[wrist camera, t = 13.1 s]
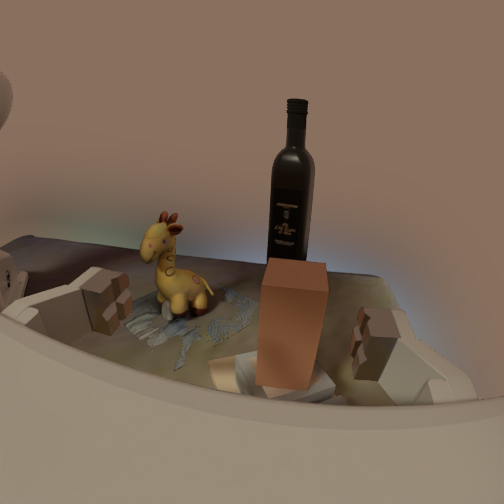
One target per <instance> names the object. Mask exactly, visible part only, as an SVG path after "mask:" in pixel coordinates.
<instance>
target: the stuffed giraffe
mask: <svg viewBox="0 0 504 504" xmlns="http://www.w3.org/2000/svg"><path fill="white" fill-rule="evenodd" d="M177 217H178V214H177V213H175V214H172V215H171V216H170V217H169V219H168V213H167V212H165V211H164V212H162V213H161V215H160V218H159V219H158V221H157V224H154V225H152V226H150V227H149V229H148V230H147V231H146V233H145V235H144V238H143V240H142V244H141V246H140V256H141V258H142V260H143V261H144V262H145V263H146V264H149V263H151V262H153V261H155V260H156V259H157V258H158V256H159V259H158V264H157V268H156V273H155V283H156V286H157V288H158V290H157V291H154V292H152V293H149V294H147V295H146V296H144V297H140V298H138V299H137V300H134V301H132V309H131V310H133V311H132V313H136V312H137V315H138V316H135V317H134V318H132V319H130V320H128V321H129V322H127V324H124V325H126V327H127V328H128V329H129V330H130V332H132V333H134V335H135V334H136V333H138V332H139V331H142V330H145V331H144V332H140V333H142V334H138V336H136V337H137V338H138V339H139V340H144V339H142V338H145V337H147V336H148V335H149V337H150V339H149V340H147V342H151V343H147V344H148V345H149V344H150V345H151V346H150V347H152V345H153V347H155V345H156V346H157V345H159V344H162V343H163V342H164V341H167V340H166V339H168V338H169V336H170V335H171V337H173V335H178V336H180V335H181V336H182V334H185V333H186V332H187V330H188V329H189V327H187V326H186V327H184V325H183V324H185V321H188V320H189V318H190V316H203V315H204V314H205V311H206V310H207V297H206V293H205V289H208V290H209V292H210V294H211V296H214V293H213V291H212V290H211V288H210V287H209V285H208V284H207V282H206V281H205V280H204V279H203V278H202V277H200V276H197V275H196V274H195V273H194V272H192V271H189V270H184V269H176V268H175V266H174V265H175V253H176V249H175V243H176V241H175V240H176V238H175V235H177V234H179V233H180V232H181V231H182V230H183V227H182V225H180V224H176V223H175V222H176V220H177ZM167 219H168V220H167ZM217 284H219V283H217ZM221 286H222V287H221V288H220V289H224V291H225V292H226V294H225V296H226V298H227V299H225V300H232V299H231V298H235V296H234V295H236V296H237V297H239V296H238V295H240V294H239V293H237V292H235V291H234V290H232V289H230V288H227V287H225V286H223V285H221ZM225 292H224V293H225ZM242 296H243V295H241V296H240V297H239V299H237V302H239V301H240V302H241V303H243V304H238V303H237V302H236V303H235V306H240V307H242V308H240V309H241V310H239V312H238V313H236V315H239V316H238V318H237V321H236V322H238V321H239V320H241V323H240V324H241V325H240V324H239V322H238V324H237V323H230V324H220V326H221V327H217V322H218V323H219V322H224V321H216V320H224V319H223V318H221V319H216V320H211V321H215V322H209V324H210V323H213V324H211V326H210V325H208V332H210V336H211V339H213V340H212V342H214V341H216V342H218V344H219V343H221V342H223V341H225V340H226V339H225V337H226V335H227V334H228V333H227V334H225V332H228V331H229V330H234V332H233V333H235V334H236V333H237V332H238V331H240V330H242V329H243V328H244V327H246V326H248V325H249V324H251V323H253V322H250V320H249V318H250V317H252V316H253V315H252V314H253V310H254V309H255V306H256V305H258V303H256V302H255V301H254V300H253V299H251V298H248V297H245V296H243V298H242ZM244 299H246V301H242V300H244ZM223 300H224V299H223ZM223 302H225V301H223ZM230 302H233V301H230ZM226 304H227V303H226ZM225 306H226V305H225ZM258 306H259V305H258ZM225 308H226V307H225ZM160 314H161V315H162V317H163V318H164V319H166V320H167V321H169V323H168V325H167V326H166V327H164V328H163V329H162V328H161V330H159V332H154V333H156V334H151V333H152V332H153V331H155V330H157V329H158V328H160V327H157V328H155V329H153V328H152V329H150V328H149V327H148V326H147V325H148V323H149V322H151V323H152V322H153V321H152V318H154V317H156V316H158V315H160ZM221 317H222V316H221ZM217 318H219V317H217ZM176 319H178V320H176ZM174 320H176V321H174ZM229 320H231V318H230V319H229ZM172 321H174V322H172ZM225 322H226V323H227V322H228V321H225ZM198 325H199V324H198ZM225 325H232V326H227V327H225ZM147 327H148V328H149V329H147ZM230 327H232V328H230ZM198 328H200V326H198V327H197V325H196V326H195V329H193V330H191V331H190V332H188V333H186V334H185V335H184V336H183V337H182V339H183V340H182V344H184V346H183V348H182V349H181V352H180V355H179V357H178V359H177V361H176V362H175V364H176V365H175V368H174V371H175V370H177V369H178V368H180V367H182V366H184V365H185V364H186V362H185V361H186V360H185V359H186V356H187V354H186V351H187V350H188V349H189V346H190V345H191V344H192V342H193V338H194V337H195V335H196V334H197V332H196V331H197V329H198ZM146 329H147V330H146ZM216 330H217V331H216ZM226 330H228V331H226ZM175 331H176V332H175ZM173 333H174V334H173ZM198 333H199V332H198ZM222 333H223V334H224V336H225V337H224V338H223V339H221V338H220V339H219V341H217V340H218V338H217V337H222ZM208 335H209V333H208ZM208 335H207V336H208ZM212 336H214V337H212ZM171 337H170V338H171ZM201 337H202V335H198V336H197V338H196V341H198V340H201V339H202V338H201ZM227 339H228V338H227ZM222 340H223V341H222ZM208 341H209V340H208ZM141 342H142V341H141ZM207 343H208V342H207ZM218 344H217V345H218ZM215 346H216V345H215ZM215 346H214V347H215ZM183 350H184V351H183ZM151 352H153V351H152V349H151Z"/></svg>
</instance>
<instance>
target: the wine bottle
mask: <svg viewBox="0 0 504 504" xmlns="http://www.w3.org/2000/svg"><path fill="white" fill-rule="evenodd" d="M287 103H288V104H287V106H288V107H287V109H288V110H287V113H288V118H287V140H286V147H285V148H284V149H282V150H281V151H280V153H279V154H278V155H277V157H276V158H275V160H274V163H273V167H272V177H271V197H270V214H269V232H268V248H267V264H268V261H269V258H279V259H289V260H299V261H306V257H307V249H308V240H309V231H310V221H311V211H312V201H313V189H314V176H315V166H314V161H313V158H312V156H311V155H310V154H309V152H308V151H307V150H306V149H305V135H306V116H307V114H308V112H307V110H308V109H307V108H308V101H307V100H304V99H288V100H287ZM266 268H267V265H266Z"/></svg>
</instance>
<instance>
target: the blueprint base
mask: <svg viewBox="0 0 504 504" xmlns="http://www.w3.org/2000/svg"><path fill="white" fill-rule="evenodd" d="M207 362H208V369H209V371H210V374H211V377H212V380H213V382H214V385H215V388H216V389H218V390H223V391H228V392H234V393H240V394H245V395H251V396H258V397H264V398H272V399H279V400H287V401H296V402H306V403H317V404H330V405H348V406H350V405H349V404H348V403H347V401H346V400H345V399H344V398H343V396H342V395H339V396H336V394H335V393H334V390H335V388H336V385H335V384H334V382H333V381H332V380H331V379H330V377H329V376H328V375H327V374H326V372H325V371H324V370H323V369H322V367H321V366H320V365H319V363H318V362H317V361H316V360H315V362H314V366H313V370H312V375H311V379H310V383H309V387H308V391H301V390H291V389H281V388H273V387H265V386H258V385H255V379H256V364H257V351H253V352H249V353H244V354H239V355H235V356H232V357H226V358H221V359H216V360H210V361H207Z"/></svg>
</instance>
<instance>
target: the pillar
mask: <svg viewBox="0 0 504 504" xmlns="http://www.w3.org/2000/svg"><path fill="white" fill-rule="evenodd" d="M328 294H329V287H328V279H327V270H326V264H325V263H318V262H309V261H299V260H289V259H279V258H269V261H268V264H267V268H266V271H265V274H264V278H263V281H262V285H261V301H260V317H259V333H258V349H257V364H256V379H255V385H258V386H265V387H273V388H281V389H291V390H301V391H308V387H309V383H310V379H311V375H312V370H313V366H314V362H315V358H316V353H317V349H318V344H319V340H320V335H321V330H322V325H323V320H324V315H325V310H326V305H327V300H328Z"/></svg>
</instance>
